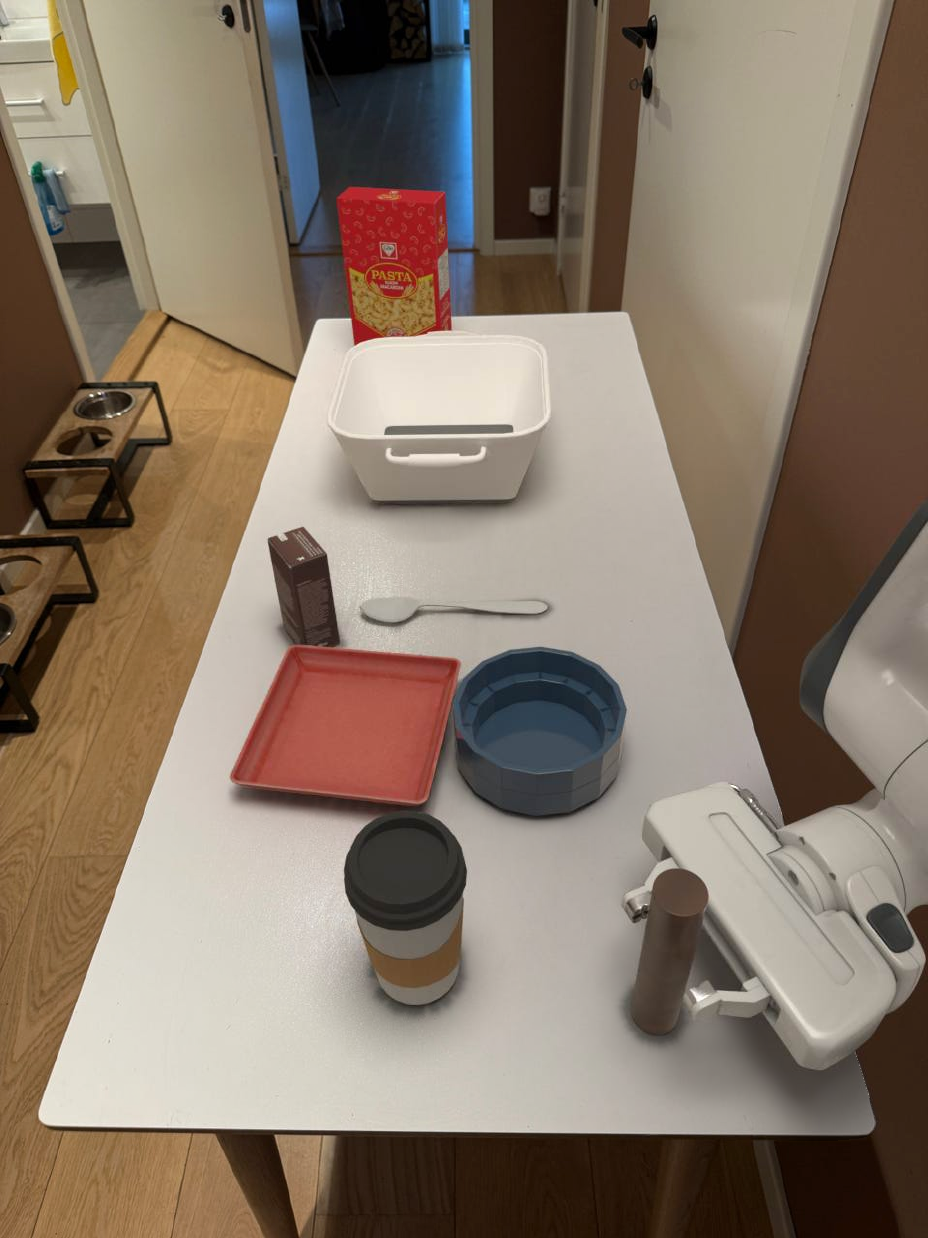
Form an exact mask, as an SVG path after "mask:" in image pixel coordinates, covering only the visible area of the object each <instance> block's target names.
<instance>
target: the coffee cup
mask: <svg viewBox="0 0 928 1238" xmlns="http://www.w3.org/2000/svg"><path fill="white" fill-rule="evenodd" d="M343 876H344V877H343V883H344V884H343V885H344V891H345V895H346V897H347V900H348V902H349V904H350V906H351V908H352V909H353V910H354V913H355V916H356V923H357V926H358V929H359V932H360V934H361V938H362V941H363V944H364V947H365V949H366V953H367V955H368V958H369V962H370V963H371V965H372V967H373V969H374V973H375V975H376V979H377V980H378V983H379V985H380V987H381V989H382V990H383V991H384V992H385V993H386V995H387V996H389V997H390V998H392V999H393V1000H395V1001H396V1002H399V1003H402V1004H405V1005H410V1006H413V1005H414V1006H421V1005H426V1004H430V1003H432V1002H434V1001H437V1000H438V999H440V998H442V997H443V996H444V995H445V994H446V993H448V992H449V991H450V989H452V986H453V985H454V983H455V982H456V980H457V977H458V974H459V969H460V959H461V956H462V955H461V954H462V953H461V952H462V940H463V924H464V922H463V921H464V908H465V907H464V905H465V898H464V890H465V888H466V886H467V877H468V868H467V864H466V859H465V856H464V851H463V848H462V846H461V843H460V842H459V840H458V839H457V837H456V836H455V834H453V832H452V831H451V829H450V828H449V827H447V825H446V824H444V823H443V821H441V820H440V819H438V818H436V817H434V816H432V815H431V814H428V813H425V812H421V811H418V810H398V811H393V812H387V813H386V814H383V815H381V816H378V817H376V818H374V819H373V820H371V821H370V822H368V823H367V824H366V825H364V826H363V827H362V829H360V831H359V832H358V833H357V834H356V835H355V837H354V839H353V841H352V842H351V844H350V848H349V850H348V852H347V854H346V855H345V861H344V867H343Z"/></svg>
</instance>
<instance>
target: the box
mask: <svg viewBox="0 0 928 1238" xmlns="http://www.w3.org/2000/svg"><path fill="white" fill-rule="evenodd" d="M267 547H268V552H269V557H270V561H271V567H272V571H273V577H274V582H275V588H276V594H277V599H278V605H279V609H280V614H281V619H282V625H283V629H285V631H286V632H287V634H288V635H289V637H290V638H291V640H292V641H293V642H294V645H311V646H320V647H332V648H333V647H334V646H337V645H338V644H340V643H341V640H340V634H339V633H340V632H339V625H338V619H337V611H336V606H335V598H334V592H333V585H332V579H331V572H330V566H329V558H328V553H327V552H326V551H325V549H324V548H323V547H322V546H321V545H320V544H319V543H318V541H317V540H316V539H315V538H314V537H313V536H312V534H311V533H310V532H309V531H308V530H307V529H306V527H305V526H300V527H298V528H293V529H290V530H288V531H285V532H282V533H280V534H276V535H273V536H270V537H268V538H267Z"/></svg>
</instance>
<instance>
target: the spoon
mask: <svg viewBox="0 0 928 1238" xmlns="http://www.w3.org/2000/svg"><path fill="white" fill-rule="evenodd" d="M423 607H441V608H442V607H444V608H461V609H467V610H475V611H480V612H488V613H496V614H511V615H512V614H514V615H539V614H543V613H544V612H546V611H547V610H548V608H549V606H548V605H547V604H546V603H544V602H542V601H537V600H511V601H509V600H506V601H505V600H500V601H499V600H498V601H497V600H496V601H494V600H491V601H490V600H488V601H487V600H486V601H482V600H481V601H478V600H477V601H474V600H473V601H472V600H471V601H468V600H467V601H450V600H449V601H448V600H447V601H446V600H432V599H418V598H414V597H410V596H409V597H407V596H389V597H378V598H377V597H376V598H370V599H366V600H364V601H363V602H361V604H360V605H359V609H360V611H361V612H362V613H363V615H366V616H368V617H369V618H371V619H374V620H377V621H380V622H383V623H399V622H402V621H405V620H406V619H409V618H410V617H411V616H413V614H415V612H416V611H418V610H419V609H421V608H423Z"/></svg>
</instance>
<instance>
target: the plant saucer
mask: <svg viewBox="0 0 928 1238" xmlns="http://www.w3.org/2000/svg"><path fill="white" fill-rule="evenodd" d="M461 666H462V662H461V661H460V660H459V659H458V658H455V657H448V656H436V655H425V654H413V653H400V652H391V651H377V650H365V649H353V648H342V647H333V646H332V647H320V646H311V645H296V644H293V645H289V646H288V647H287V649H286V651H285V653H284V656H283V657H282V660H281V661H280V664H279V666H278V668H277V671H276V673H275V674H274V677H273V680H272V681H271V684H270V685H269V688H268V690H267V693H266V695H265V697H264V700H263V701H262V703H261V706H260V708H259V711H258V712H257V714H256V717H255V718H254V722H253V723H252V726H251V728H250V730H249V732H248V734H247V737H246V739H245V740H244V743H243V745H242V747H241V750H240V752H239V754H238V756H237V759H236V761H235V762H234V765H233V768H232V769H231V772H230V773H229V780H230V782H231V783H232V784H235V785H238V786H240V787H246V788H250V789H257V790H263V791H264V790H265V791H273V792H282V793H293V794H301V795H311V796H319V797H320V796H321V797H328V798H336V799H343V800H344V799H346V800H354V801H362V802H373V803H380V804H387V805H388V804H389V805H398V806H407V807H408V806H409V807H411V806H413V807H414V806H415V807H416V806H420V805H422V804H425V802H426V801H428V799H429V796H430V792H431V788H432V784H433V781H434V777H435V773H436V769H437V765H438V761H439V757H440V753H441V750H442V749H441V748H442V745H443V741H444V736H445V731H446V728H447V725H448V719H449V716H450V711H451V708H452V707H451V706H452V704H453V700H454V695H455V691H456V686H457V682H458V678H459V674H460V671H461Z"/></svg>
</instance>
